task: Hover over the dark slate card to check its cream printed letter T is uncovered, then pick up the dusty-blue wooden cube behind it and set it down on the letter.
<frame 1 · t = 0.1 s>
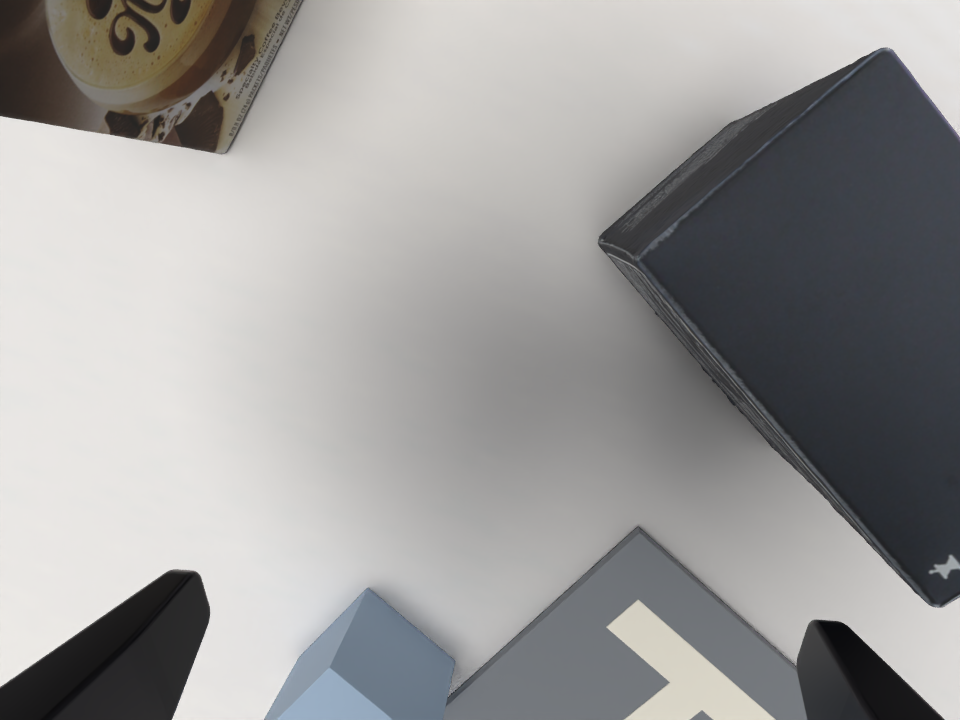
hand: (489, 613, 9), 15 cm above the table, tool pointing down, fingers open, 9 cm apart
blue cube: (376, 657, 28), on the table
small box: (755, 289, 23), on the table
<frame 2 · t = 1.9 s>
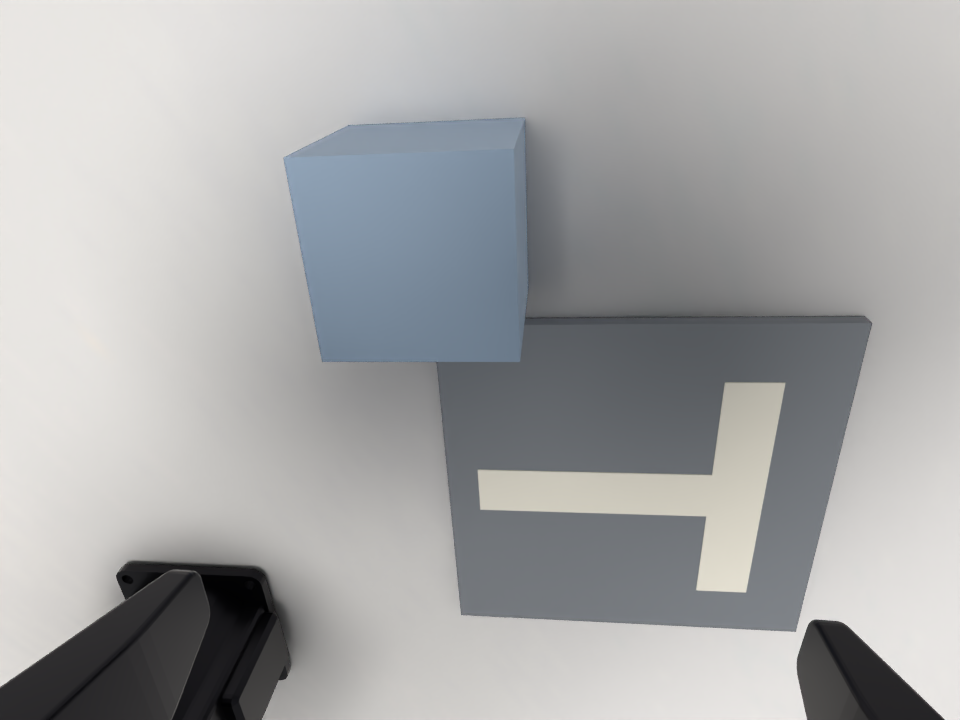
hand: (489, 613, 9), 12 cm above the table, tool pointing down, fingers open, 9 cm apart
letter card: (630, 484, 23), on the table
blue cube: (442, 209, 19), on the table
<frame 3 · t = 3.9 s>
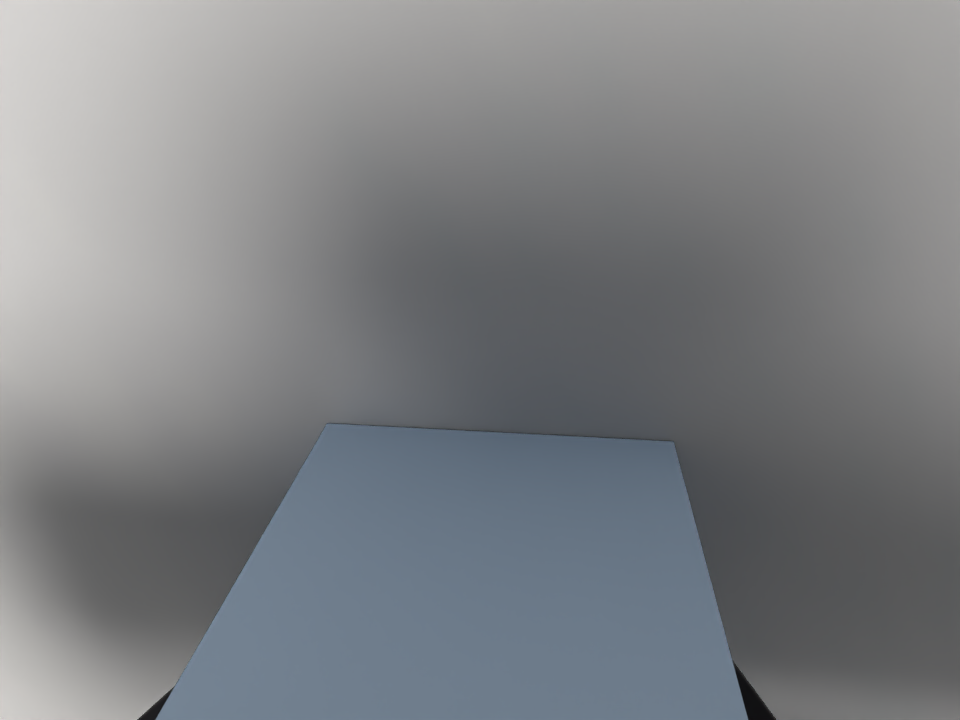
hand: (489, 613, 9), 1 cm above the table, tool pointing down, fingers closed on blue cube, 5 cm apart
blue cube: (495, 560, 10), on the table, touching gripper
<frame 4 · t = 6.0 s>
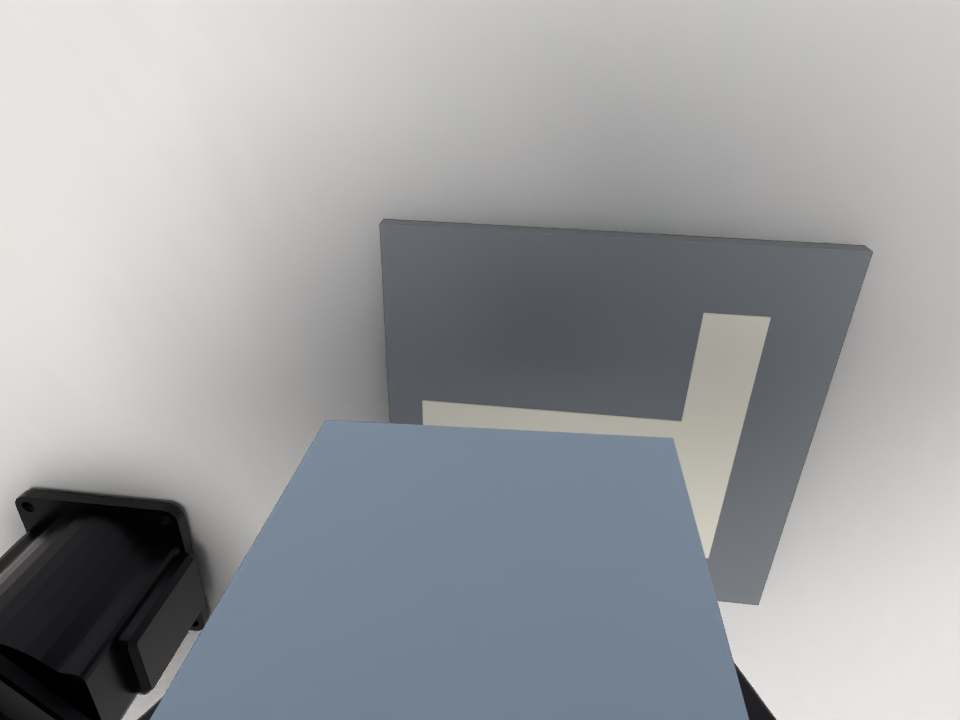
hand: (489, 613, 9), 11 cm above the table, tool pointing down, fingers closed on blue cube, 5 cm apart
letter card: (591, 429, 21), on the table
blue cube: (494, 557, 10), point 10 cm above the table, touching gripper
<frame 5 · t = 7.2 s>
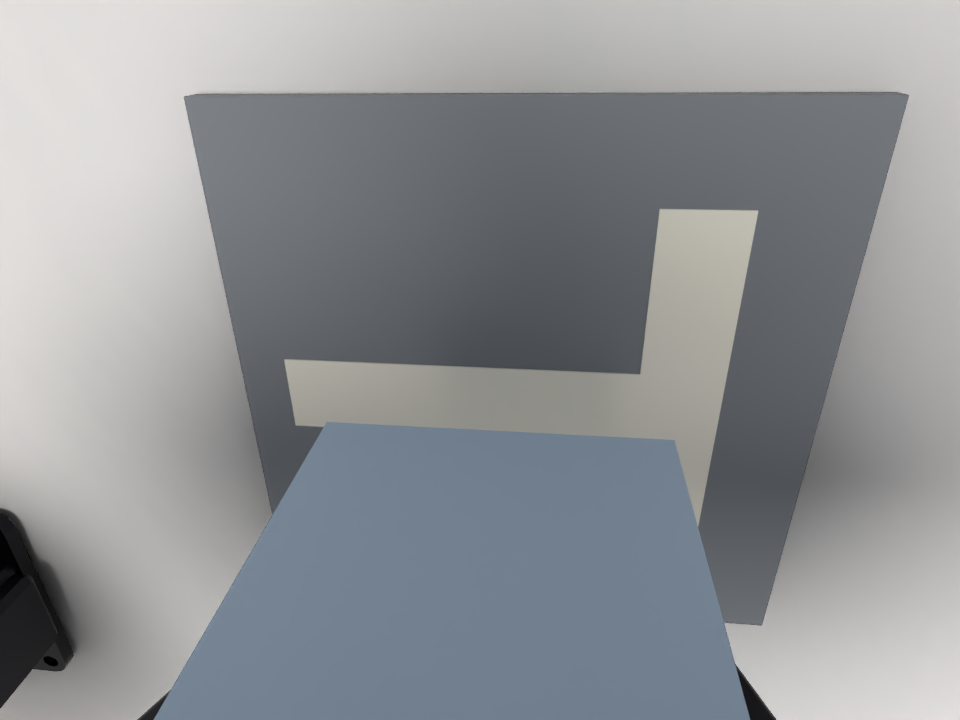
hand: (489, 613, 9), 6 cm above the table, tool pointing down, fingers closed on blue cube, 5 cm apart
letter card: (520, 392, 15), on the table
blue cube: (495, 559, 10), point 5 cm above the table, touching gripper
when the fingers open (2 cm above the table, at t = 8.3 s): blue cube stays where it is, resting on letter card.
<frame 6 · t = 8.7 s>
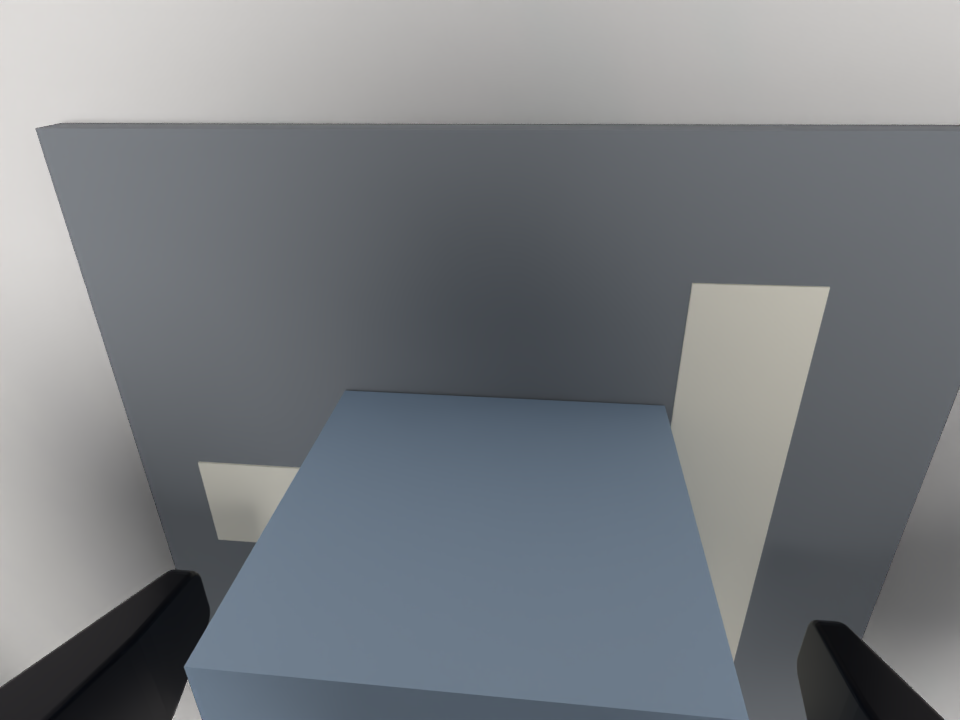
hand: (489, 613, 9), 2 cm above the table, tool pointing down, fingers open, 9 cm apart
letter card: (505, 501, 12), on the table
blue cube: (500, 520, 11), point 1 cm above the table, touching letter card
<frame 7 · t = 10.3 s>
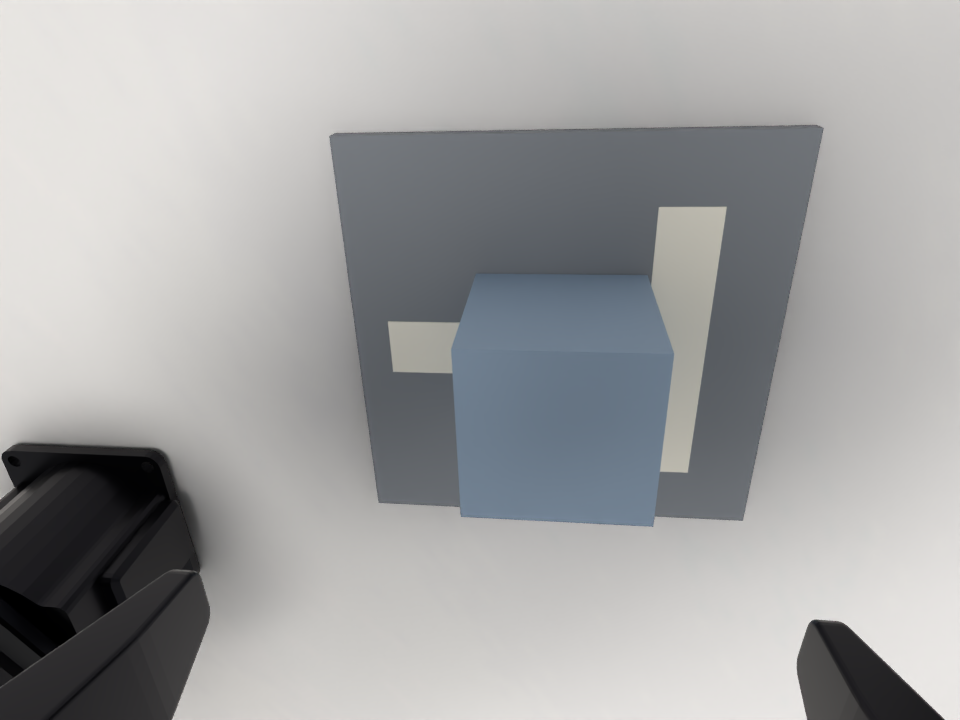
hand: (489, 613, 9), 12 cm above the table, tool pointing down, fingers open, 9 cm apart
letter card: (559, 343, 21), on the table
blue cube: (558, 350, 20), point 1 cm above the table, touching letter card
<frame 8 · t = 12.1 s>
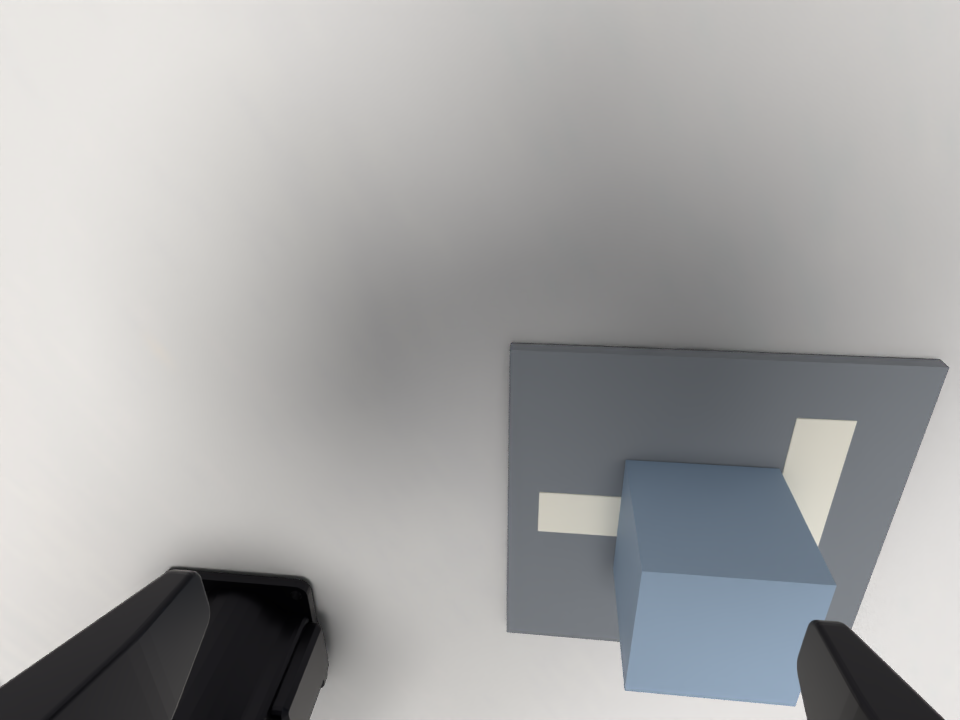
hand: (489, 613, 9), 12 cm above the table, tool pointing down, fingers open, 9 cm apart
letter card: (689, 511, 23), on the table
blue cube: (691, 521, 23), point 1 cm above the table, touching letter card
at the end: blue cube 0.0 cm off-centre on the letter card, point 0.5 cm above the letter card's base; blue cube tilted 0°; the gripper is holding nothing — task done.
